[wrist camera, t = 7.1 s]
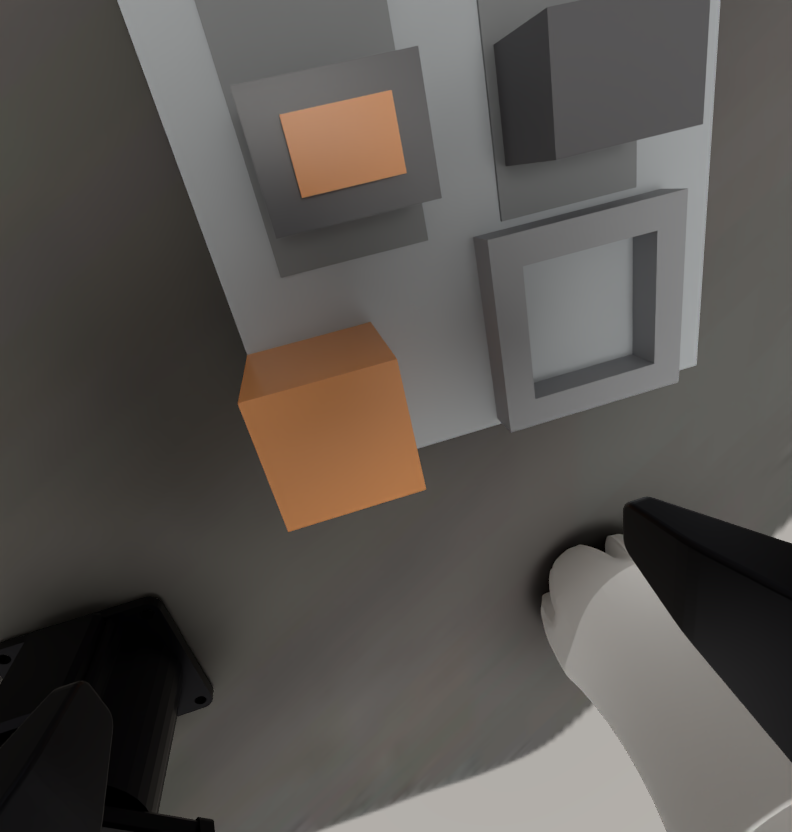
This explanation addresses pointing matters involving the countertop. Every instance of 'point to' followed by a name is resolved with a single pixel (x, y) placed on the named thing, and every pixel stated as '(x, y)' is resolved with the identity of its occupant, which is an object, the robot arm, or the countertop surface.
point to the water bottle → (663, 698)
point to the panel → (470, 193)
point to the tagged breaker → (340, 140)
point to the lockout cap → (331, 425)
